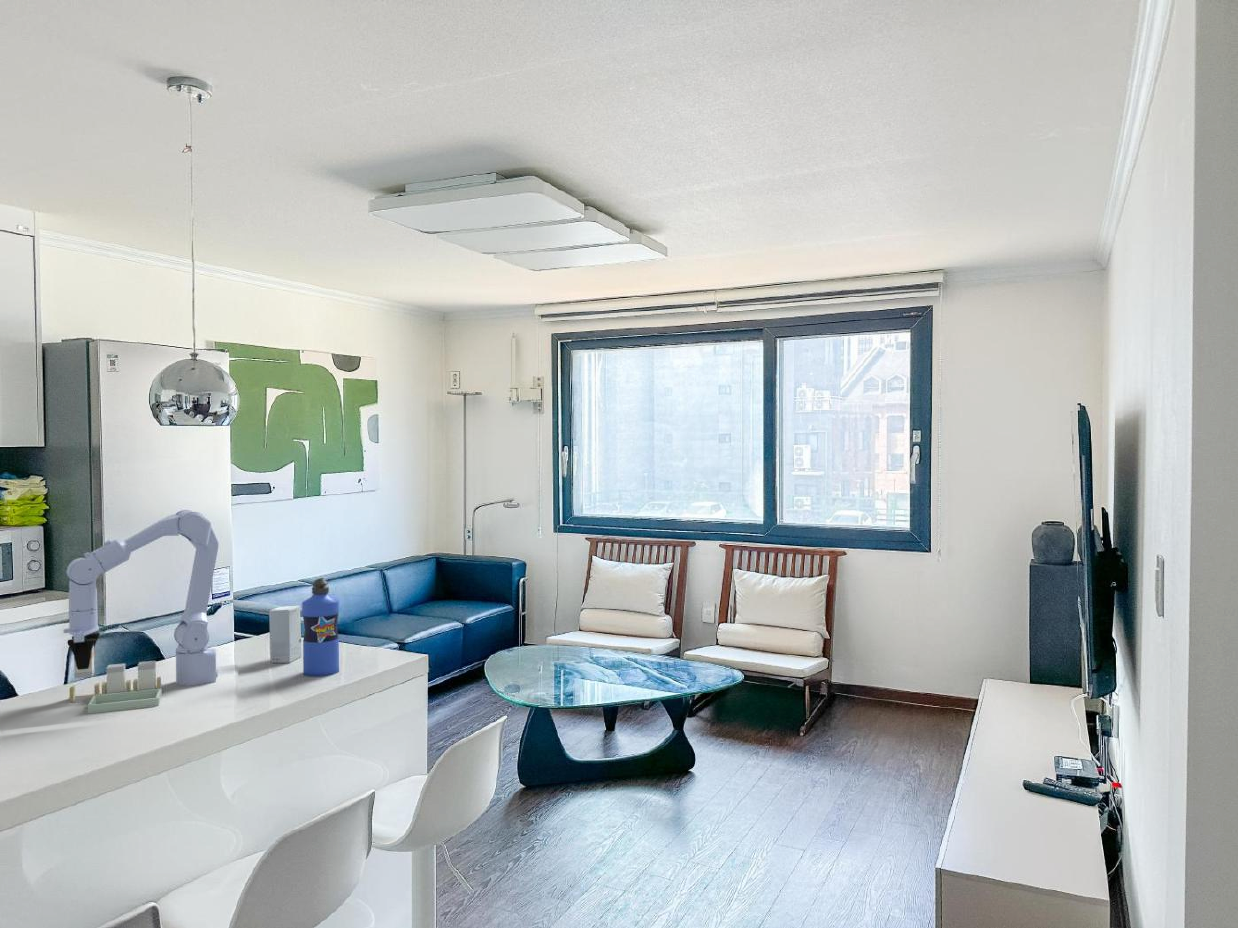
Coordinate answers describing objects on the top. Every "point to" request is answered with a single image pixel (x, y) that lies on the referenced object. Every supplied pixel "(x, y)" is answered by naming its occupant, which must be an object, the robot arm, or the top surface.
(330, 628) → the blue bottle
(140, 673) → the fuse near base
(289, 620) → the skincare box
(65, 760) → the top surface
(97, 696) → the tray
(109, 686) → the block
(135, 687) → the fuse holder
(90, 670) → the marked fuse
